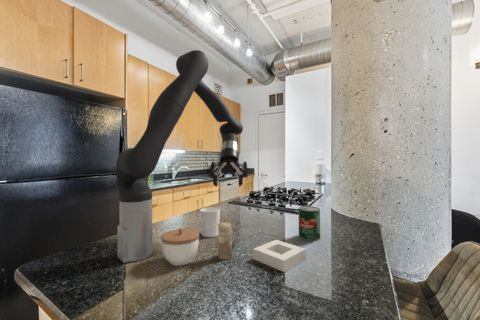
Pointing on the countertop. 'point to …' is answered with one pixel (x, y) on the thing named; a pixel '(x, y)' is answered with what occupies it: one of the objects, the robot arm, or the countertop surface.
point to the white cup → (209, 221)
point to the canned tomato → (309, 223)
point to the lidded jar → (180, 246)
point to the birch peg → (224, 241)
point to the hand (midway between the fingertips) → (227, 185)
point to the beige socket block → (279, 255)
